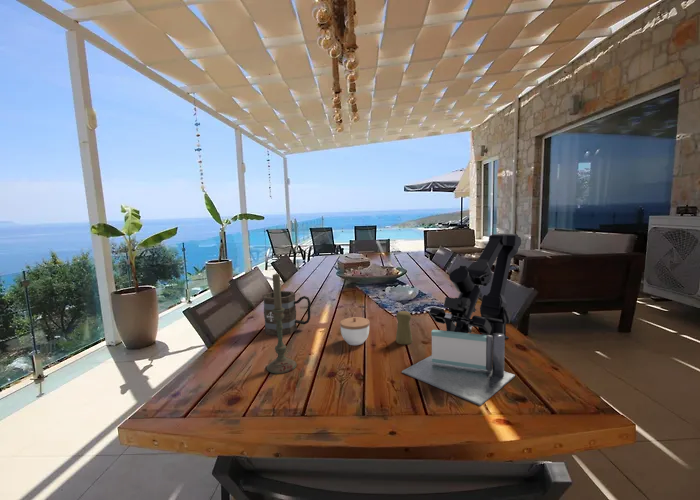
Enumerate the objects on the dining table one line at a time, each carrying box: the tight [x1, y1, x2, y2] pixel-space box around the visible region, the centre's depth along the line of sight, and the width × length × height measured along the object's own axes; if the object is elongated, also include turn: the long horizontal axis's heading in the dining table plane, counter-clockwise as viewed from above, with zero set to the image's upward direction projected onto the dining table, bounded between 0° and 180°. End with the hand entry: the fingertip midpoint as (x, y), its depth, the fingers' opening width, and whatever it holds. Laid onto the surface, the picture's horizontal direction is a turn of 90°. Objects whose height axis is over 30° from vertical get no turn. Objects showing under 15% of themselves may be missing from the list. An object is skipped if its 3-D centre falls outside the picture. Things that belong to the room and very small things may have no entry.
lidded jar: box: [339, 316, 370, 346], centre depth 121 cm, size 11×11×9 cm
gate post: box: [401, 333, 516, 406], centre depth 94 cm, size 24×20×12 cm
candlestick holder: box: [266, 272, 298, 375], centre depth 102 cm, size 9×9×30 cm
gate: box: [430, 329, 493, 371], centre depth 97 cm, size 17×2×10 cm, turn 66°
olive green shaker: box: [395, 310, 413, 345], centre depth 120 cm, size 6×6×11 cm
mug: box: [262, 290, 312, 337], centre depth 137 cm, size 20×14×15 cm
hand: (448, 344), depth 100 cm, fingers closed
